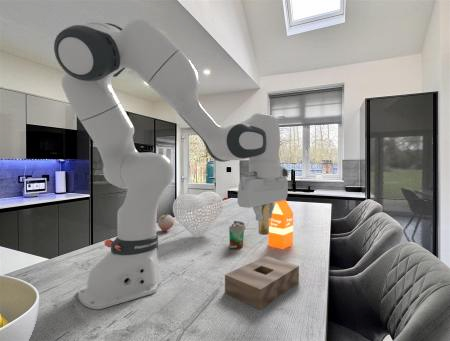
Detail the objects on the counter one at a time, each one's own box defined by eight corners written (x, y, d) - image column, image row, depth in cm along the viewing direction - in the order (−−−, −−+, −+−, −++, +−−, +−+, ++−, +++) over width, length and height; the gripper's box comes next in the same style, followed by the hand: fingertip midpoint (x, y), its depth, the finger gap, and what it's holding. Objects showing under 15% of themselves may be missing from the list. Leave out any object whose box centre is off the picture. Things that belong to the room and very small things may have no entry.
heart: (187, 247, 107) (188, 196, 107) (165, 240, 117) (165, 193, 117) (229, 234, 128) (229, 191, 128) (207, 229, 138) (207, 189, 138)
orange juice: (293, 244, 112) (293, 200, 112) (283, 249, 106) (283, 202, 105) (277, 240, 118) (278, 198, 117) (267, 245, 111) (268, 200, 111)
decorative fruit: (171, 233, 129) (171, 214, 129) (156, 233, 129) (156, 214, 129) (175, 229, 138) (175, 211, 138) (161, 229, 138) (161, 211, 138)
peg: (265, 235, 70) (265, 200, 70) (256, 233, 72) (256, 199, 72) (271, 233, 72) (271, 199, 72) (262, 231, 74) (262, 197, 74)
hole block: (260, 309, 61) (260, 289, 61) (224, 292, 69) (224, 274, 69) (298, 282, 76) (298, 265, 75) (265, 270, 84) (265, 256, 84)
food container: (243, 251, 102) (243, 227, 102) (229, 250, 104) (229, 226, 103) (247, 242, 114) (247, 221, 114) (233, 241, 116) (234, 220, 116)
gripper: (250, 172, 62) (250, 227, 62) (291, 171, 77) (291, 215, 77) (232, 172, 66) (232, 223, 67) (274, 170, 81) (273, 212, 82)
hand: (264, 219), depth 72 cm, fingers closed on peg, 3 cm apart
